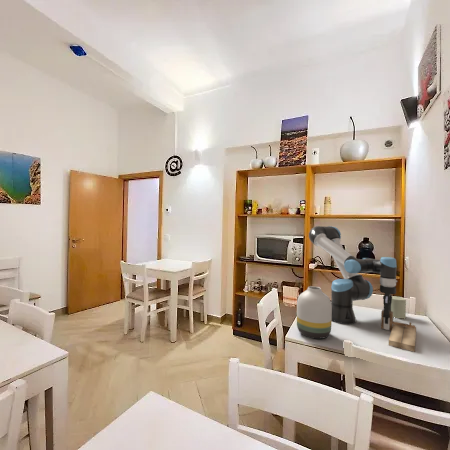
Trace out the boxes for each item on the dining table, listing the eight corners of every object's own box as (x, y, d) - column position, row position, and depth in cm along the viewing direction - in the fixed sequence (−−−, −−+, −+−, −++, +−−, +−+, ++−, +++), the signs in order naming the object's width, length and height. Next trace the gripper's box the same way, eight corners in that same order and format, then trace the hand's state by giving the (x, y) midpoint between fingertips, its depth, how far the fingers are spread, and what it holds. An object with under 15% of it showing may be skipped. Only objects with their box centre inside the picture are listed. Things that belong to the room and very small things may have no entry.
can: (405, 315, 166) (405, 296, 165) (406, 320, 158) (406, 300, 158) (388, 313, 170) (388, 294, 170) (388, 317, 163) (388, 297, 163)
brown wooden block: (381, 328, 144) (381, 312, 144) (382, 325, 148) (382, 309, 148) (414, 335, 135) (415, 318, 135) (414, 332, 139) (415, 315, 139)
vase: (331, 344, 124) (332, 293, 124) (294, 338, 130) (295, 289, 130) (330, 330, 140) (331, 285, 140) (297, 326, 146) (298, 282, 146)
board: (388, 345, 124) (388, 339, 124) (393, 327, 147) (393, 322, 147) (414, 351, 118) (414, 345, 118) (416, 331, 141) (416, 327, 141)
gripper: (394, 289, 135) (393, 334, 135) (397, 283, 150) (396, 324, 150) (377, 287, 140) (376, 331, 140) (382, 281, 154) (381, 321, 154)
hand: (387, 327), depth 145 cm, fingers closed on brown wooden block, 5 cm apart
